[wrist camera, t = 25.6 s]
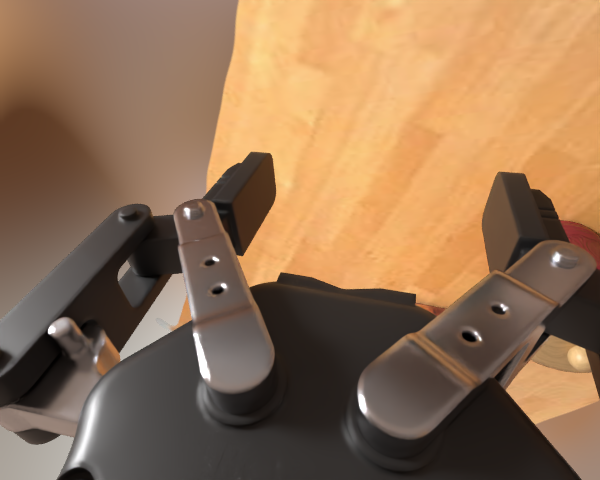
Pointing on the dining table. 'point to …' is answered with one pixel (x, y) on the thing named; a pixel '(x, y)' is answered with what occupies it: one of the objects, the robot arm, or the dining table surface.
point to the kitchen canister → (556, 349)
